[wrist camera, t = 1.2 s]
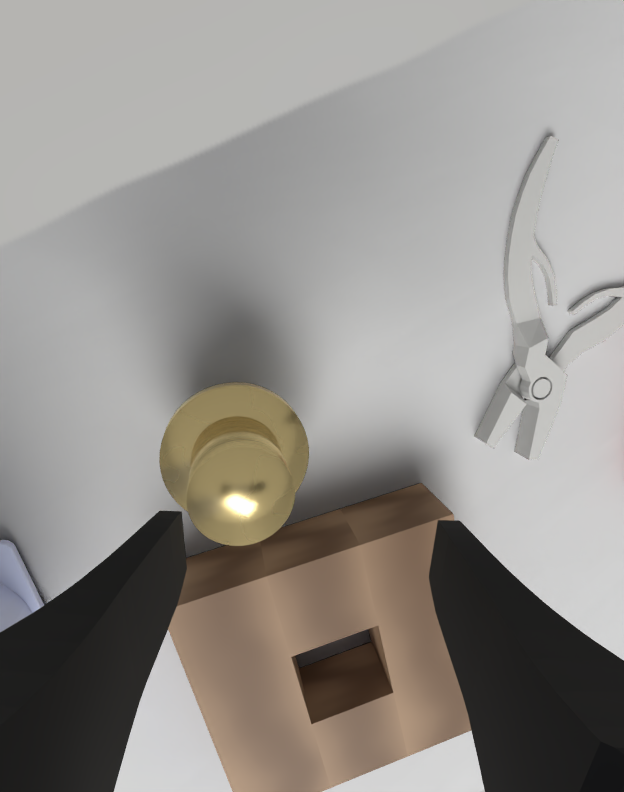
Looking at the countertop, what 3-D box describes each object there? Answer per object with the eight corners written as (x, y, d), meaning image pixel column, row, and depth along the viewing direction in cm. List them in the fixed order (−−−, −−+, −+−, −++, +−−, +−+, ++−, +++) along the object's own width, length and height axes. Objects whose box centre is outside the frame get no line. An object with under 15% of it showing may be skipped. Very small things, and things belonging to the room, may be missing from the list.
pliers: (708, 213, 23) (581, 475, 26) (678, 217, 25) (561, 465, 27) (560, 127, 21) (434, 430, 23) (536, 137, 22) (420, 421, 25)
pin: (189, 500, 23) (179, 599, 16) (151, 387, 21) (120, 442, 14) (305, 465, 23) (344, 544, 17) (277, 354, 22) (307, 390, 15)
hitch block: (241, 756, 27) (245, 822, 24) (168, 563, 23) (161, 611, 20) (454, 673, 29) (484, 724, 26) (421, 482, 25) (453, 513, 22)
